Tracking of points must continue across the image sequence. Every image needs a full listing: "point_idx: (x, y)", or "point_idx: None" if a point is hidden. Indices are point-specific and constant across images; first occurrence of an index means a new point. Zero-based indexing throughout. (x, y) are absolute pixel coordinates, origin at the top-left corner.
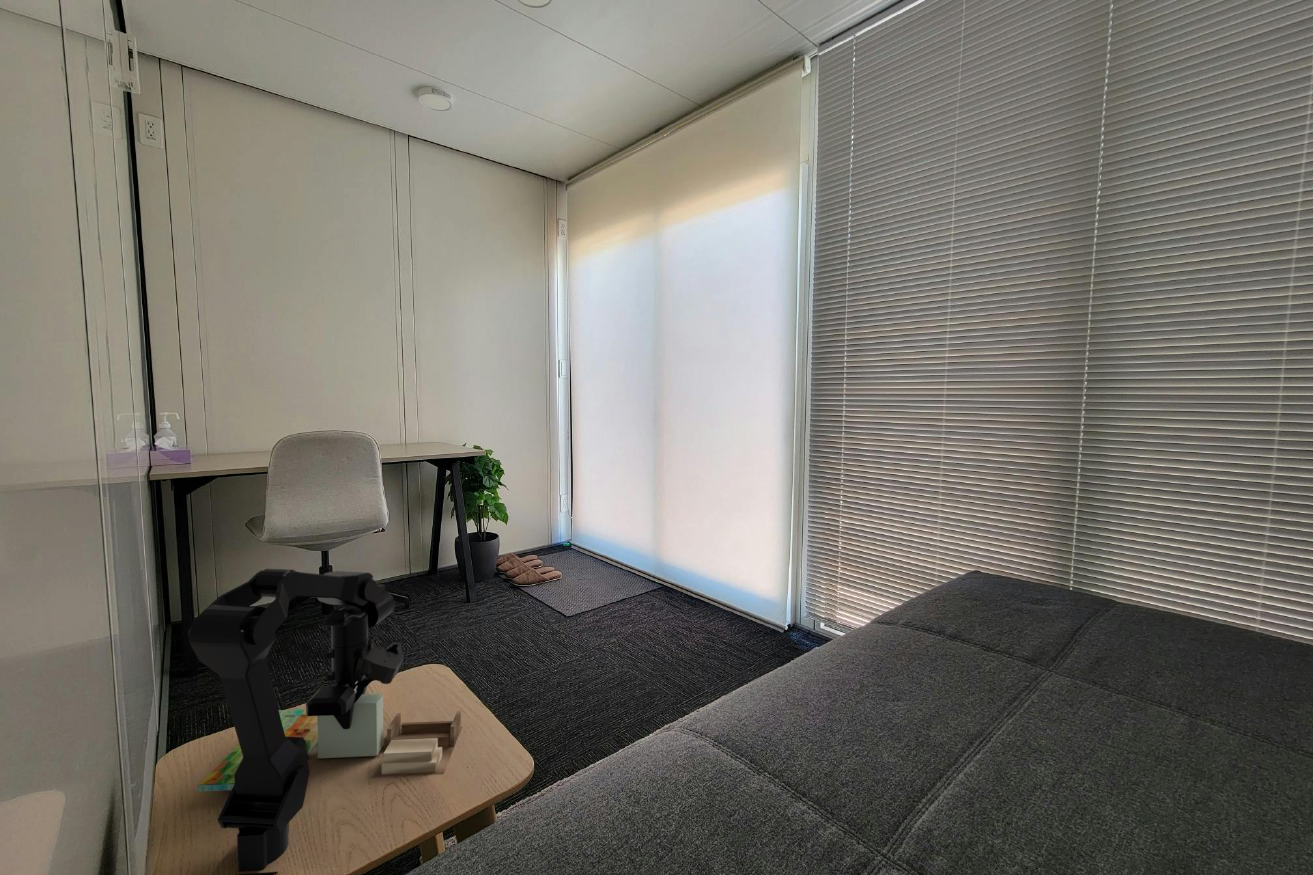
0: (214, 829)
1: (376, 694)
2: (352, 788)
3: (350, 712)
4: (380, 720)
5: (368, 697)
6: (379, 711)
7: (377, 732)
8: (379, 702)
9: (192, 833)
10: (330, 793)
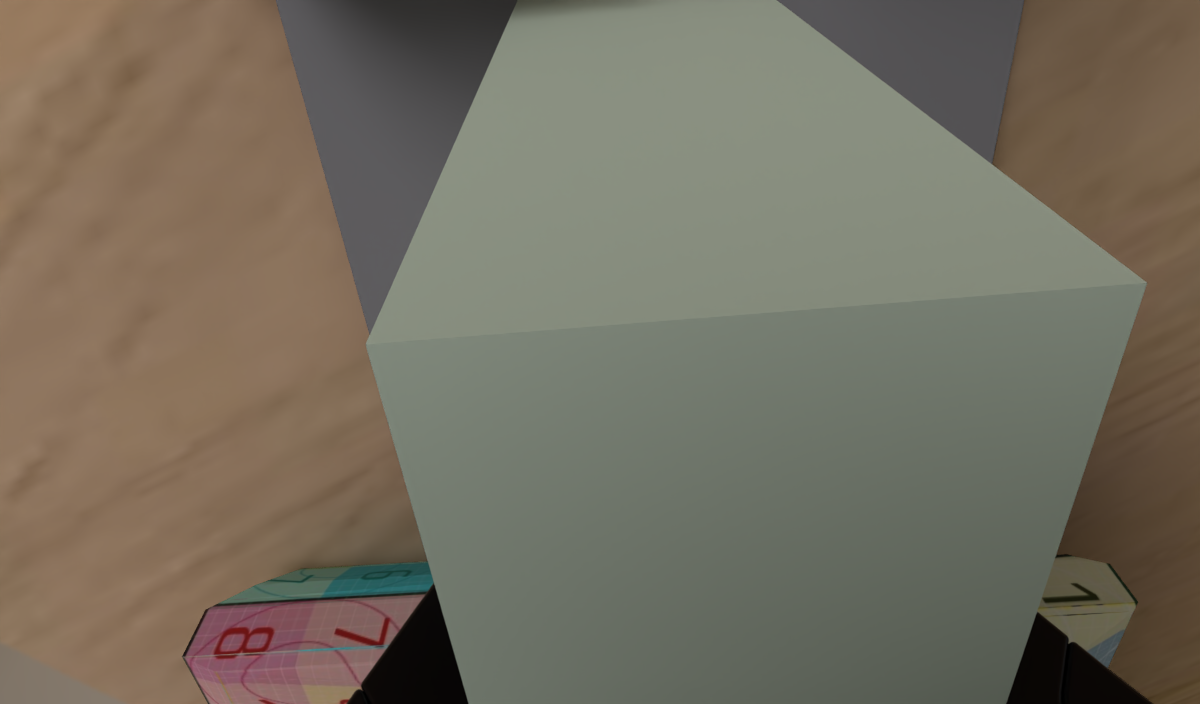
0: (1179, 632)
1: (458, 534)
2: (1071, 25)
3: (1130, 690)
4: (629, 62)
5: (674, 663)
6: (714, 125)
7: (764, 17)
8: (757, 235)
9: (1168, 689)
10: (1078, 193)
